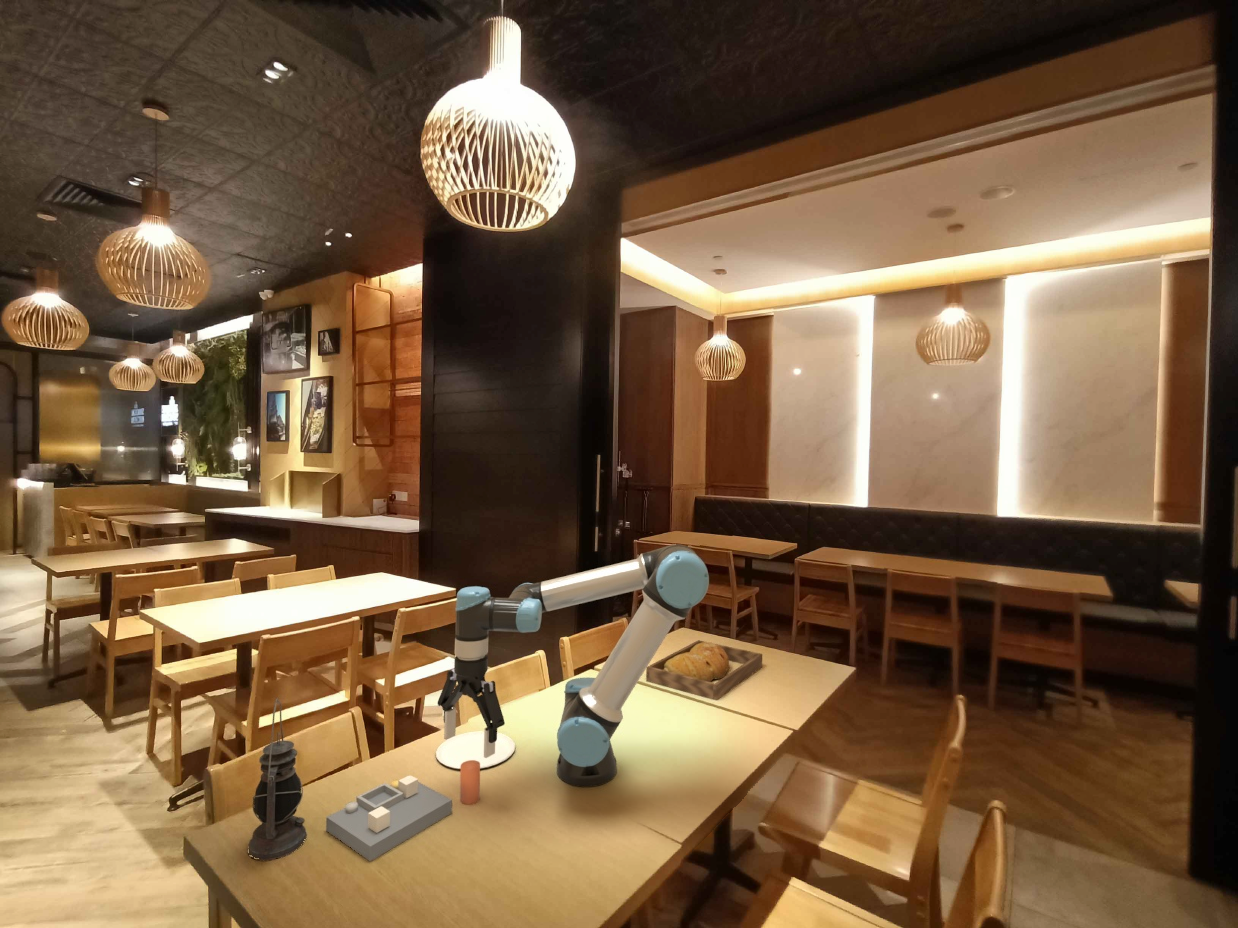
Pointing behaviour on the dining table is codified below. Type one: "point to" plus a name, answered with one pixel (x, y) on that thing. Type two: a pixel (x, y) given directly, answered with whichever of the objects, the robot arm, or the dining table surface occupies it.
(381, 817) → the toggle
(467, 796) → the cap
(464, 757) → the plate
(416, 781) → the toggle
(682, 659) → the bread
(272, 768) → the lantern
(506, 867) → the dining table surface
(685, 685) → the bread tray
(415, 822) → the grey flat block
